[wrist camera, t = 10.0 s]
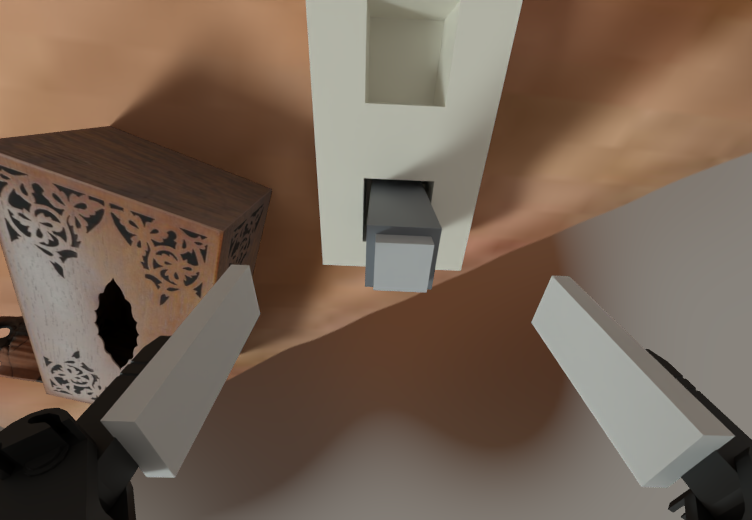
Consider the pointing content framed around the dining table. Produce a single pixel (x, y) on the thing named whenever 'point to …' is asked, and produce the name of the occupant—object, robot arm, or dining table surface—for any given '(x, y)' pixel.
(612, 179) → the dining table surface
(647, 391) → the robot arm
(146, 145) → the tissue box cover
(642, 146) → the dining table surface
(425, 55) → the socket block
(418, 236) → the plug
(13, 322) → the pottery mug
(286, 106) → the dining table surface
